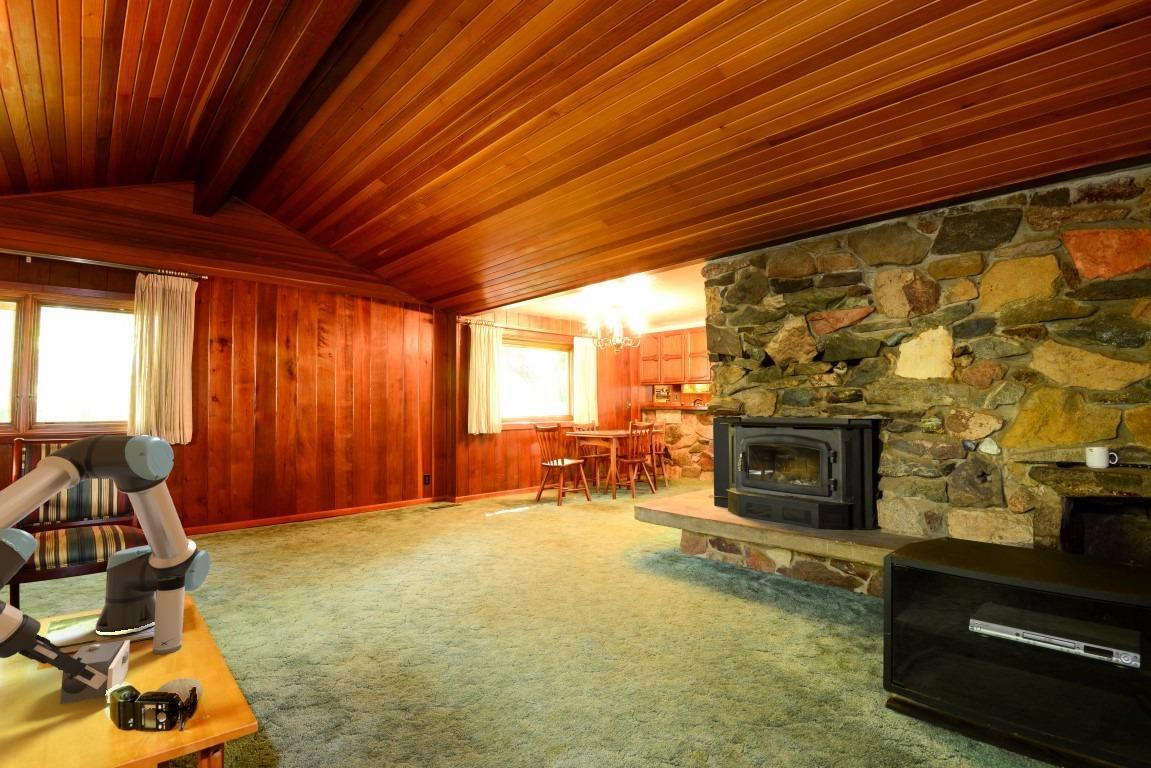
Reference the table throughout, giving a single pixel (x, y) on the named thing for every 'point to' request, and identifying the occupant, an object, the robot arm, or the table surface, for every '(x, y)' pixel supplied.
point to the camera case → (96, 659)
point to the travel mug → (169, 614)
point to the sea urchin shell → (182, 687)
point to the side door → (119, 666)
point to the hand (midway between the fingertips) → (101, 682)
